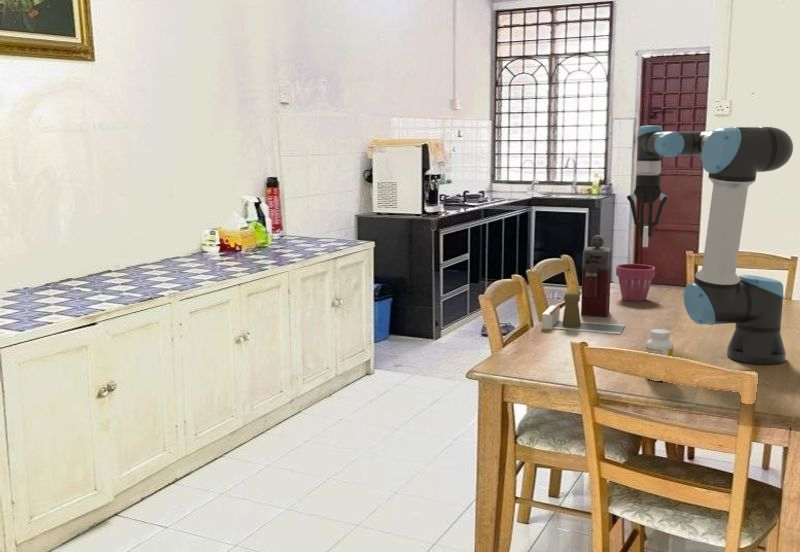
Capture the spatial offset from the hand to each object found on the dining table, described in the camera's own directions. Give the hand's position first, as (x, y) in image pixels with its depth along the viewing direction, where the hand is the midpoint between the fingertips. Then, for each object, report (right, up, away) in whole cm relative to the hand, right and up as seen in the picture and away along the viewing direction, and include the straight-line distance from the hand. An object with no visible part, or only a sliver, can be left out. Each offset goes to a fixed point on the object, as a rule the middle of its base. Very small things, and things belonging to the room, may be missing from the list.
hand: (645, 246), depth 259 cm
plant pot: (+10, -19, +46) cm, 50 cm away
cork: (-23, -26, +4) cm, 35 cm away
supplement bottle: (-13, -37, -54) cm, 66 cm away
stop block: (-30, -26, +6) cm, 40 cm away
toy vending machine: (-12, -24, +20) cm, 33 cm away
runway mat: (-18, -27, +2) cm, 32 cm away
